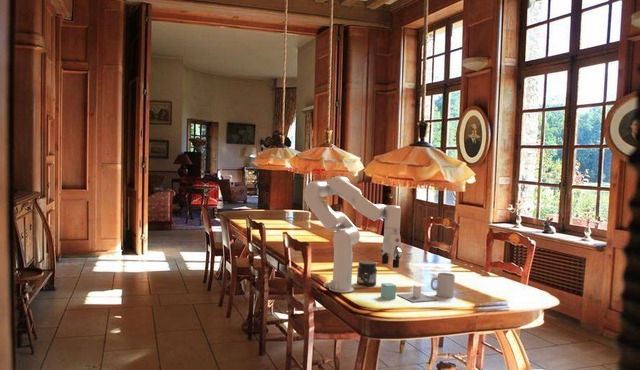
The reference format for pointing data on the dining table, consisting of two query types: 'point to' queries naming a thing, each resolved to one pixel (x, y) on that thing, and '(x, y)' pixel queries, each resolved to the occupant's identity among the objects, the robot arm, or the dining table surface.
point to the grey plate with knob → (416, 295)
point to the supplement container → (366, 273)
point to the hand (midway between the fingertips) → (390, 265)
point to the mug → (444, 285)
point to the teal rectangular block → (388, 290)
